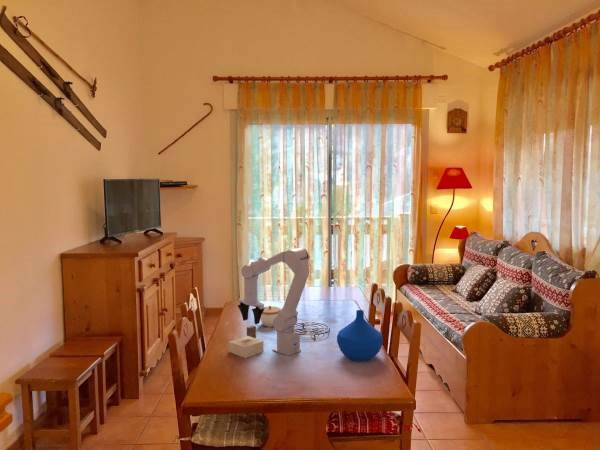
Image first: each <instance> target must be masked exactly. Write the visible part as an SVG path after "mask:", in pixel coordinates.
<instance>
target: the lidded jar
mask: <svg viewBox="0 0 600 450" xmlns="http://www.w3.org/2000/svg"><path fill="white" fill-rule="evenodd" d="M281 309H282V308H280V307H278V306H272V305H268V306H264V311H263V313H262V315H261V318H260V322H261V323H262V324H263V325H264V326H265V327H270V328H271V327H274V325H273V320H274V319H275V318H276V317H277V315H278V313H279V312H280V310H281Z"/></svg>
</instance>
